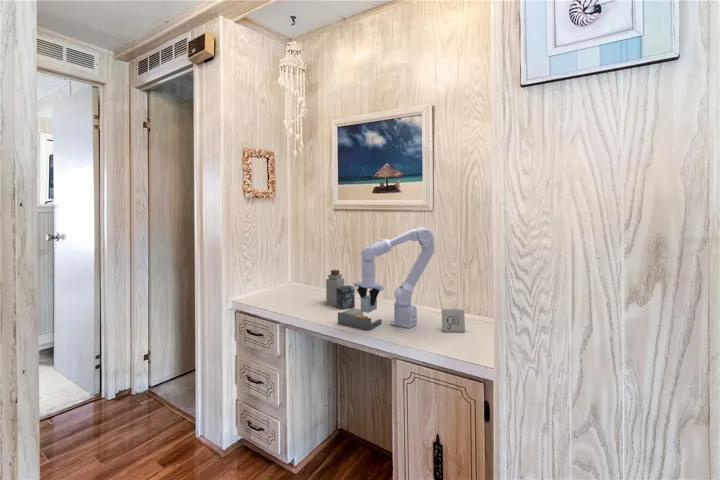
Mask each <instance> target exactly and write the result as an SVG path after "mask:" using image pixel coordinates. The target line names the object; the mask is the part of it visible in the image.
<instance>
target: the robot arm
mask: <svg viewBox="0 0 720 480" xmlns="http://www.w3.org/2000/svg"><path fill="white" fill-rule="evenodd" d="M408 241H412V242H413V241H414V242H418V243H419V246H420V248H421V251H420V252H419V254H418V256H417V258H416V260H415V262H414V264H413V265H412V267H411V269H410V271H409V272H408V274H407V276H406V277H405V280H404V281H403V282H402V283H401V284H400V285H399V287H397V288H396V289H395V290H394V297H395V299H396V300H395V302H394V304H393V305H394V311H393V312H394V314H393V315H394V316H393V317H394V321H392V322H390V325H391V326H398V327H402V328H406V329H411V328H412V327H414V326H415V325H417V324H418V320H417V318H418V315H417V314H418V310H417V306H415V305H412V302H411V301H412V295H413V293H414V290H415V289H414V288H415V287H416V285H417V284H418V282H419V280H420V279H421V277H422V275H423V273H424V271H425V269H426V268H427V265H428V264H429V262H430V260H431V259H432V257H433V255H434V254H435V236H434V234H433V232H432V230H431V229H429V228H427V227H425V226H419V227H417V228H413V229H410V230H408V231H406V232H404V233H402V234H399V235H397V236H395V237H393V238H390V239H387V238H384V239H383V238H380V239H379V241H377V242H375V243H369V246H368V245H367V246H365V247H363V248H362V250H361V253H360V254H361V257H362V259H361V281H353V287H355V288H356V287H357V289H356V292H357V293H358V295H359V297H360V299H361V298H362V297H364V296H367V295H368V294H367V293H369V295H370V297H371V306H373V305H375V301H376V298H377V299H378V294H379V293H380V292H381V291H382V292H383V291H384V287H385V285H382V284H379V283H376V266H375V265H376V263H375V258H376V257H380V256H382V255H385V254H387V253H388V252H391V250H392V248H393V247H396V246H397V245H401V244H403V243H406V242H408ZM369 289H370V290H369ZM368 290H369V291H368Z"/></svg>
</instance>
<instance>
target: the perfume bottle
mask: <svg viewBox="0 0 720 480" xmlns="http://www.w3.org/2000/svg"><path fill="white" fill-rule="evenodd" d="M327 277H328V278H326V279H325V291H326V305H328V306H332V307H337V293H336V291H337V290H336V289H337V288H336V287H342V286H345V278H344V277H343V274H341V273H340V270H339V269H332V270H330V274H327Z"/></svg>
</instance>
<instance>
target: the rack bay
mask: <svg viewBox="0 0 720 480" xmlns="http://www.w3.org/2000/svg"><path fill="white" fill-rule="evenodd" d="M382 321H383V320H382V319H381V318H378V319H377V320H375V321H372V318H370V317H368V316H367V315H366V316H365V315H364V312H361V308H355V307H352V308H348V309H346V310H345V311H343V312H340V311H339V312H337V325H341V326H346V327H350V328H355V329H360V330H363V331H371V330H373V329H375V328H377V327H379V326H381V325H382Z"/></svg>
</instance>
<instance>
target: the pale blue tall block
mask: <svg viewBox="0 0 720 480" xmlns="http://www.w3.org/2000/svg"><path fill="white" fill-rule="evenodd" d="M360 309H361V312H363V313H367V314H369V313H372V312H373V311H376V310H378V297H377V298H376V301H375V305H373V306H371V297H370V294H366V296H364V297H362V298H361V297H360Z"/></svg>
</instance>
